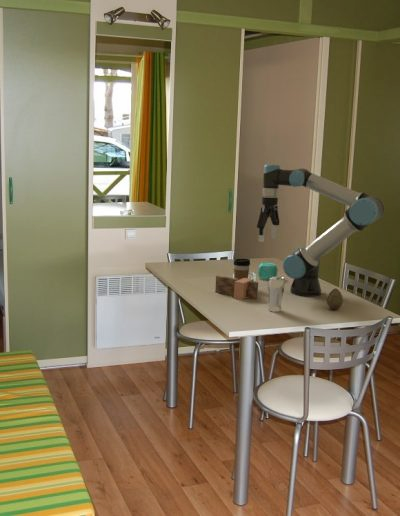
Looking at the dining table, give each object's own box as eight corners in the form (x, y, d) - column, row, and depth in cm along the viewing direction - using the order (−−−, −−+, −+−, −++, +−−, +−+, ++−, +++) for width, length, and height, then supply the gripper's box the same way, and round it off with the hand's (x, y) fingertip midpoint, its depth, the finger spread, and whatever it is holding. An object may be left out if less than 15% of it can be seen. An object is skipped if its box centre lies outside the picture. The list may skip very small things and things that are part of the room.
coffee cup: (247, 290, 345) (249, 261, 342) (231, 289, 347) (232, 260, 344) (249, 286, 353) (251, 258, 350) (233, 285, 355) (235, 257, 352)
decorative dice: (270, 281, 368) (271, 266, 367) (257, 278, 373) (258, 264, 371) (277, 278, 375) (278, 264, 373) (264, 276, 379) (265, 262, 378)
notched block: (243, 293, 339) (244, 277, 337) (252, 295, 336) (253, 279, 335) (233, 297, 331) (234, 281, 329) (243, 299, 328) (243, 283, 326)
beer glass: (272, 307, 316) (274, 275, 313) (285, 310, 311) (287, 278, 308) (264, 310, 310) (266, 277, 307) (277, 313, 306) (279, 280, 303)
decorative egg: (324, 307, 319) (326, 286, 317) (339, 307, 320) (341, 286, 318) (328, 311, 312) (330, 290, 310) (343, 311, 313) (345, 290, 311)
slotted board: (257, 298, 331) (258, 282, 329) (255, 299, 329) (256, 283, 327) (217, 291, 342) (218, 275, 340) (215, 291, 340) (216, 276, 338)
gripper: (274, 194, 345) (271, 235, 349) (251, 197, 324) (249, 242, 328) (287, 195, 341) (285, 237, 345) (265, 199, 320) (263, 244, 324)
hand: (267, 240), depth 337 cm, fingers open, 13 cm apart
